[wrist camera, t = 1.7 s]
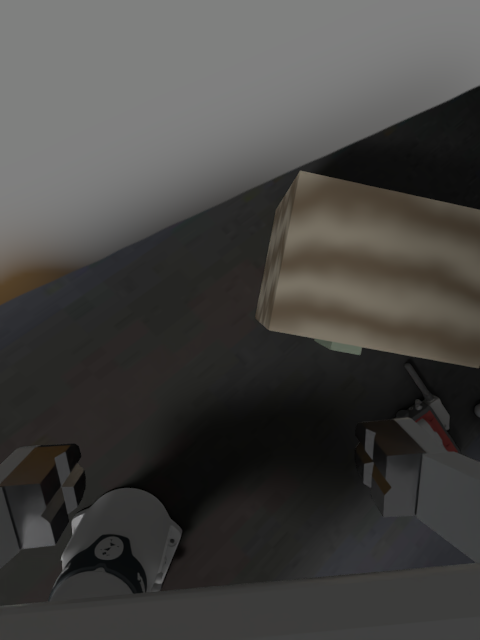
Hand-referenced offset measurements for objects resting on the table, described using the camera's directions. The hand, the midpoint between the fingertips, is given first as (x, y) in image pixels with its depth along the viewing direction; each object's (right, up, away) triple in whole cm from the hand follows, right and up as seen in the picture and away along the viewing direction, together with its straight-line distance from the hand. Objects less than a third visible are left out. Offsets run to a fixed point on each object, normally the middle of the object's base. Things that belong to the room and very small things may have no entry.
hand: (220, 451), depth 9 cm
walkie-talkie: (+32, -13, +45) cm, 57 cm away
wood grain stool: (+18, +11, +42) cm, 47 cm away
